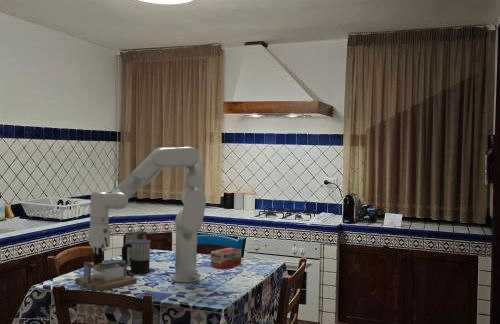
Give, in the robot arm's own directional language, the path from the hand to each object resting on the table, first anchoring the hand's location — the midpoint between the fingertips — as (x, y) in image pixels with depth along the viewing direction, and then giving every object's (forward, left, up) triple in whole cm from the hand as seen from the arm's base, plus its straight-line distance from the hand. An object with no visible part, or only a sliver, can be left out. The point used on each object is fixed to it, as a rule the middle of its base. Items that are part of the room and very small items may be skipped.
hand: (97, 262), depth 211 cm
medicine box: (-12, -66, -10) cm, 67 cm away
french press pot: (+21, -33, -10) cm, 41 cm away
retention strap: (0, -4, -2) cm, 5 cm away
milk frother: (+5, -22, -10) cm, 25 cm away
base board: (0, -4, -9) cm, 10 cm away
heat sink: (0, -4, -7) cm, 8 cm away
